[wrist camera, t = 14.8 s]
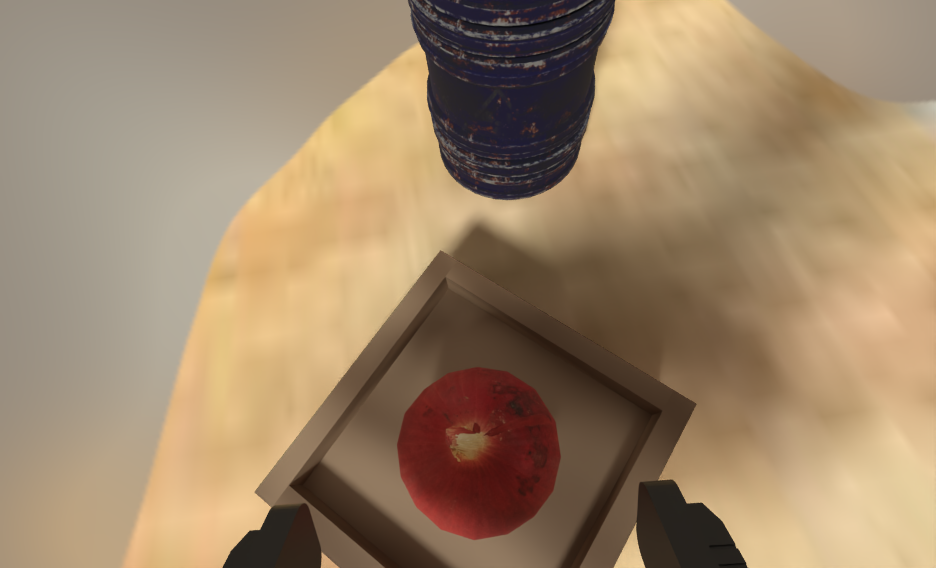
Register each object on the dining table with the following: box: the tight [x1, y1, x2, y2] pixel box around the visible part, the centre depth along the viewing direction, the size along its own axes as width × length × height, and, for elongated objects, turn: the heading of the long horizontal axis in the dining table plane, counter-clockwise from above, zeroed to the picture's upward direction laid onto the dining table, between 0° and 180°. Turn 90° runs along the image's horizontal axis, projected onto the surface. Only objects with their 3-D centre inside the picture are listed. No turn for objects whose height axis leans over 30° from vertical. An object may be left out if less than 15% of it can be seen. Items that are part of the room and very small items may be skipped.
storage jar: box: [408, 0, 615, 200], centre depth 26 cm, size 10×10×15 cm
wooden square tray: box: [255, 251, 696, 568], centre depth 22 cm, size 13×13×6 cm
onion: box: [397, 367, 561, 540], centre depth 17 cm, size 6×6×8 cm
